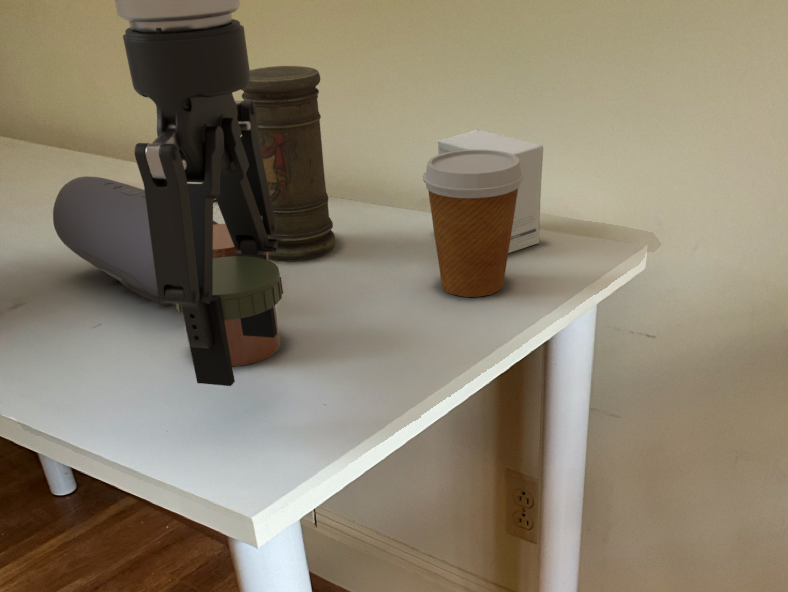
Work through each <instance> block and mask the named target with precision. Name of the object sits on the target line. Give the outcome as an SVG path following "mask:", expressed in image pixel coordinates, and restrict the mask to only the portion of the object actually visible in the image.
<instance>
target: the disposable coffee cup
mask: <svg viewBox="0 0 788 592" xmlns="http://www.w3.org/2000/svg"><path fill="white" fill-rule="evenodd" d="M426 164H427V165H426V169H425V172H424V173H423V175H422V180H423V182H424V184H425V188H426V190H427V191H428V199H429V206H430V213H431V220H432V226H433V235H434V240H435V241H434V242H435V248H436V256H437V263H438V269H439V276H440V284H441V289H442V290H443V291H445V292H446V293H447V294H451V295H454V296H458V297H466V298H467V297H468V298H469V297H471V298H473V297H484V296H490V295H493V294H495V293H497V292H499V291H501V290H502V289H503V287H504V285H505V276H506V269H507V266H508V265H507V264H508V258H509V253H508V252H509V245H510V239H511V232H512V226H513V219H514V213H515V206H516V200H517V193H518V188H519V187H520V185H521V181H522V180H523V178H524V172H523V171H522V170H521V168H520V162H519V158H518V157H517V156H515V155H513V154H510V153H507V152H502V151H496V150H460V151H452V152H447V153H443V154H439V153H438V154H436V155H433V156H432V157H430V158H429V160H428V161H427V163H426Z"/></svg>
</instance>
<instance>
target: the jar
mask: <svg viewBox="0 0 788 592" xmlns="http://www.w3.org/2000/svg"><path fill="white" fill-rule="evenodd" d="M234 253H238V254H241V251H238V250H236V249H235V247H234V244H233V242H232V239H231V237H230V234H229V232H228V229H227V226H226V224H225V223H218V224H215V225H213V258H220V257H230V256H231V255H233V254H234ZM264 254H265V255H266V257H267V260H269V261H270V258H269V255H268V252H264ZM274 314H275V322H276V329H277V335H276V336H275V337H274V338H270V337H257V336H243V332H242V326H241V320H240V319H233V320H224V322H225V328H226V334H227V339H228V345H229V351H230V357H231V362H232V367H239V366H246V365H250V364H255V363H258V362H261V361H264V360H266V359H268V358H270V357H272V356H273V355H274V354H276V353H277V351H278V350H279V349H280V347H281V338H280V331H279V330H280V329H279V323H278V322H279V321H278V316H277V315H278V314H277V309H276V305H275V306H274Z"/></svg>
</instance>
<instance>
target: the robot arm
mask: <svg viewBox="0 0 788 592" xmlns="http://www.w3.org/2000/svg"><path fill="white" fill-rule="evenodd" d="M114 3H115V9H116V14H117V16H118V17H120V18H122V19H123V20H124V21H128V23H129V27H128V28H126V29H125V31H124V34H123V35H122V40H123V44H124V49H125V54H126V58H127V64H128V69H129V73H130V78H131V83H132V87H133V89H134V91H135V92H136V93H137V94H138V95H139V96H141V97H144V98H149V99H150V100H151V101H152V102H153V103H154V104H155V107H156V134H157V135H156V136H157V137H156V138H155V139H154V140H153V141H152V142H151V143H150V142H138V143H136V145H135V146H134V157H135V162H136V165H137V168H138V170H139V174H140V177H141V181H142V183H143V190H145V198H146V205H147V213H148V221H149V228H150V236H151V244H152V252H153V259H154V267H155V275H156V282H157V290H158V297H159V300H160V301H161V302H162V303H174V304H173V305H175V304H180V306H181V308H182V312H183V314H182V315H183V321H184V326H185V330H186V336H187V340H188V345H189V349H190V355H191V359H192V364H193V370H194V374H195V378H196V383H197V384H201V385H213V386H226V387H231V386H233V384H234V383H235V381H236V380H235V375H234V368H233V366H232V362H231V357H230V351H229V345H228V339H227V334H226V328H225V322H224V317H223V311H222V305H221V300H220V297H212V293H213V220H214V201H216V203H217V206H218V209H219V211H220V213H221V216H222V218H223V221H224V224H226V226H227V229H228V232H229V234H230V237H231V239H232V242H233V244H234V247H235V249H236V250H238V251H241V254H238V253H234V254H233V255H231V256H248V257H256V258H262V259H265V260H267V257H266V255H265V254H264V252H276V251H277V248H278V240H277V239H272V238H268V236H274V235H275V233H276V223H275V218H274V213H273V208H272V203H271V198H270V193H269V188H268V183H267V178H266V173H265V168H264V163H263V158H262V153H261V148H260V143H259V138H258V128H257V112H256V105H255V103H254V101H244V100H235V98H234V94H233V93H236V92H238V91H242V90H241V89H243V88H244V87H245V86H247V84H248V83H249V81H250V70H251V69H250V63H249V55H248V49H247V47H248V46H247V41H246V33H245V27H244V26H243V25H242V24H241V21H240V20H238V19H234V18H233V13H235V12H236V11H238V9H239V8H240V6H241V0H114ZM187 182H199V183H201V184H191V183H187ZM215 198H216V200H214V199H215ZM261 216H262V219H261ZM231 256H230V257H231ZM240 320H241V326H242V332H243V336H257V337H270V338H274V337H275V336H276V335H277V329H276V322H275V314H274V307H272V308H271V309H269V310H267V311H264V312H262V313H259V314H256V315H253V316H249V317H245V318H240Z"/></svg>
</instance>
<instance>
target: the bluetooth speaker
mask: <svg viewBox="0 0 788 592" xmlns="http://www.w3.org/2000/svg"><path fill="white" fill-rule="evenodd" d="M52 221H53V227H54V230H55V233H56V235H57V236H58V238H59V240H60V241H61V242H62V243H63V244H64V246H65V247H67V248H68V249H69V250H70V251H72V252H73V254H76V255H77V256H78V257H80V258H81V259H83V260H85V261H86V262H87V263H89V264H91V265H92V266H94V267H95V268H97V269H99V270H100V271H102V272H104V273H105V274H106V275H108V276H109V277H111V278H112V279H114V280H116V281H119V282H120V284H121V285H122V286H123V287H124V288H126V289H127V290H129V291H130V292H133V293H135V294H137V295H139V296H141V297H143V298H145V299H147V300H149V301H150V302H153V303H156V304H159V305H164V306H174V305H175V304H174V303H162V302H161V301H160V300H159V297H158V290H157V282H156V275H155V267H154V259H153V252H152V244H151V236H150V228H149V221H148V213H147V205H146V198H145V190H144V188H143V189H142V188H140V187H137V186H135V185H134V186H133V185H130V184H127V183H123V182H120V181H116V180H112V179H110V178H106V177H105V178H104V177H100V176H99V177H98V176H80V177H76V178H73V179H71V180H70V181H68V182H67V183H65V184H64V185H63V186H62V187H61V188H60V189H59V191H58V194H57V195H56V197H55V200H54V204H53V209H52ZM215 224H219V223H218V222H217V221H215V220H214V219H213V225H215Z"/></svg>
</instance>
